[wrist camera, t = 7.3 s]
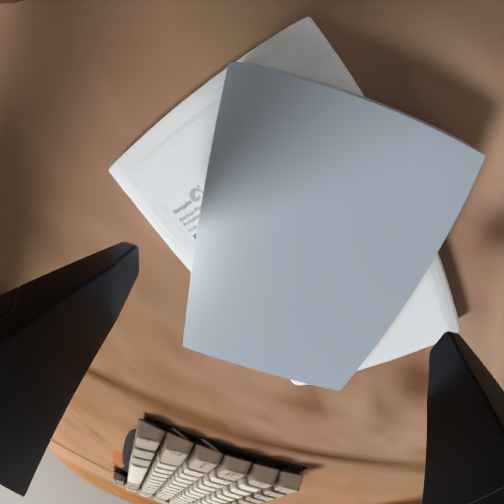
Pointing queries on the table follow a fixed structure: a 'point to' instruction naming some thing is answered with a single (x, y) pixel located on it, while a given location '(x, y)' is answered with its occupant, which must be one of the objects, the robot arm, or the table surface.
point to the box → (9, 1)
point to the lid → (315, 224)
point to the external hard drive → (195, 169)
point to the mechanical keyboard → (198, 469)
